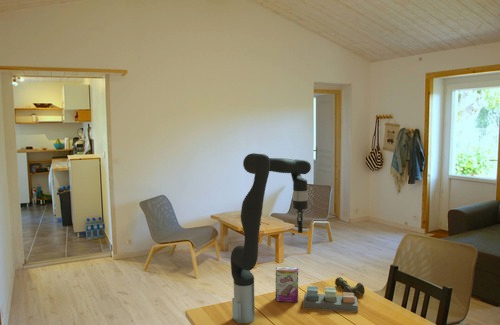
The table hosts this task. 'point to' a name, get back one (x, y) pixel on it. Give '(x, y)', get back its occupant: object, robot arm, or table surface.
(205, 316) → the table surface
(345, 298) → the terracotta block
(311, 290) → the slate-blue block
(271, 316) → the table surface
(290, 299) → the candy bar box
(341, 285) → the kendama
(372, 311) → the table surface
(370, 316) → the table surface
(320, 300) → the charcoal board
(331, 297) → the sage block
